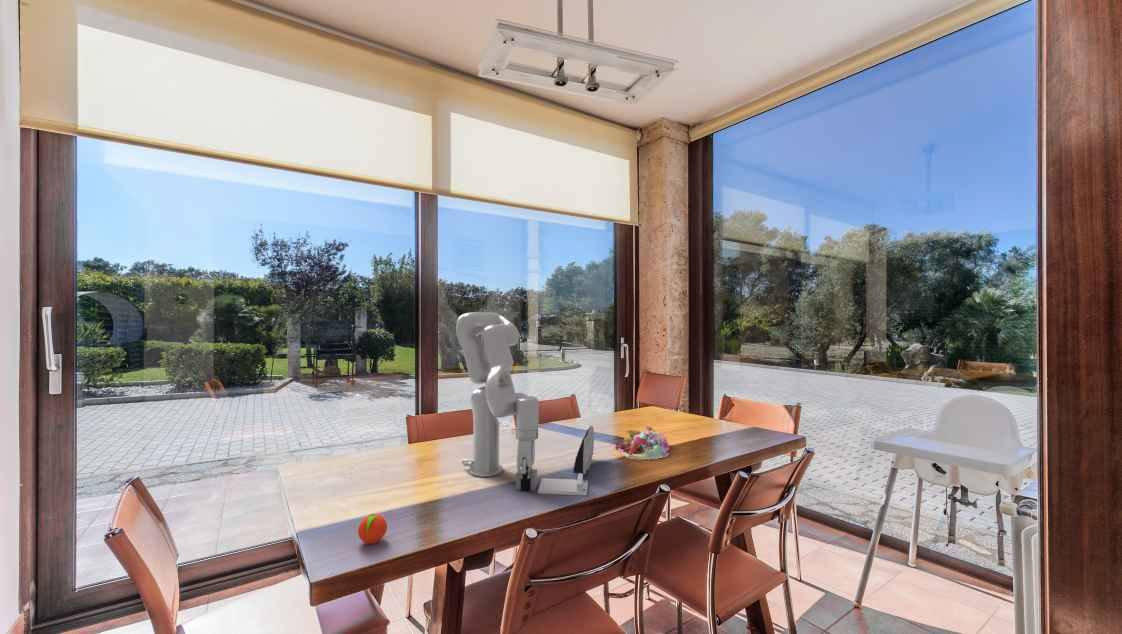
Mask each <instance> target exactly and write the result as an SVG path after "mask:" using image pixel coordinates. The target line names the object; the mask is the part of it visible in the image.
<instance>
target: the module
mask: <svg viewBox="0 0 1122 634" xmlns="http://www.w3.org/2000/svg"><path fill="white" fill-rule="evenodd" d="M526 472H527V473H528V471H526ZM537 486H538V469H533V468H532V469H531V470H530V490H529V491H531V492H532V491H533V492H534V491H535V492H536V490H537V488H538V487H537ZM515 490H516V491H522V490H521V468H520V469H519V470H518V469H517V471H516V474H515Z"/></svg>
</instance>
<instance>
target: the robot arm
mask: <svg viewBox="0 0 1122 634" xmlns="http://www.w3.org/2000/svg"><path fill="white" fill-rule="evenodd" d="M455 333H456V337H457V340H458V342H459V345H460V347H461V349H462V351H463V357H464V361H465V365H466V368H467V373H468V376H469V379H470V381H471V382H472V384H475V385H484V386H481V387H478V388H476V389H475V390H473V392H472V393H471V395H470V404H471V410H472V417H473V419H472V420H473V421H472V423H473V425H472V426H473V442H472V445H473V453H472V454H473V457H472V458H471V459H468V458H463V459H462V461H461V462H462V463H461V464H462V465H463V467H469V468H468V473H469V474H470V475H471V476H474V477H478V478H479V477H481V478H487V477H494V476H499V475H500V474H502V473H503V471H504V466H502V464H500V421H499V419H498V418H500V419H501V418H506V417H507V418H508V417H510V416H515V421H516V422H515V424H516V425H515V438H516V439H517V440H518V441H517V449H516V450H517V451H516V452H517V455H516V470H517V471H518V470H519V469H521V490H520V491H530V470H531V469H532V470H533V466H534V463H535V458H536V440H537V439H539V399H538V398H537V397H535V396H532V395H530V396H529V395H527V394H524V393H523V392H516V391H515V387H514V383H513V379H512V378H513V377H512V374H511V371H510V369H511V368H512V367H513V366H514V359H513V356H512V352H511V349H510V348H511V347H514V346H517V344H518V343H519V340H520V332H519V329H518V328H517V327H516V325H515V324H513V322H511V321H510V320H508V319H507V318H506V317H504V316H503V315H501V314H500V313H498V312H488V311H487V312H484V311H483V312H482V311H481V312H480V311H473V312H472V311H471V312H466V313H463V314H461V315H460V316H459V317H458V319H457V321H456V325H455ZM477 335H481V336H482V339H480V337H478V336H477ZM482 340H483V341H482ZM526 471H528V473H527V472H526Z"/></svg>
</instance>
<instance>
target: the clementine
mask: <svg viewBox="0 0 1122 634" xmlns="http://www.w3.org/2000/svg"><path fill="white" fill-rule="evenodd" d="M387 530H388V523H387V521H386V518H384V517H383V516H382V515H380V514H377V513H371V514H369V515H366V516H365V517H364V518H363V519H362V520H361V521H360V523H359V525H358V529H357V532H358V537H359V539H360V540H361V542H363V543H365V544H370V545H371V544H375V543H379V542H380V541H381V540H382V539H383V538H384V537H385V535H386V533H387Z"/></svg>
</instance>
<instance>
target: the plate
mask: <svg viewBox="0 0 1122 634" xmlns="http://www.w3.org/2000/svg"><path fill="white" fill-rule="evenodd" d="M577 474H578V475H577V479H571V478H569V479H567V478H566V479H565V478H546V477H545V478H541V482H540V484H539V486H538V489H537V494H542V495H543V494H544V495H545V494H546V495H547V494H548V495H566V496H568V495H569V496H572V495H573V496H587V495H588V484H589V482H588V481H589V480H588V479H583V478H584V474H581V473H577Z"/></svg>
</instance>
